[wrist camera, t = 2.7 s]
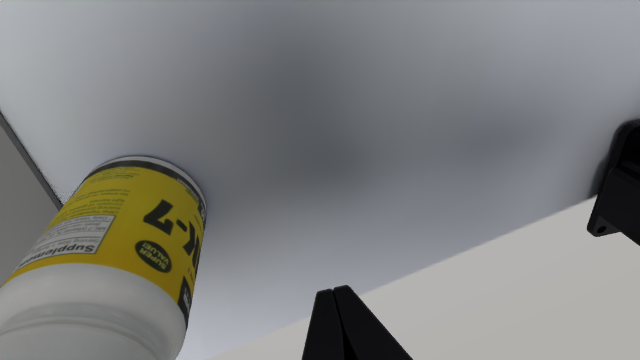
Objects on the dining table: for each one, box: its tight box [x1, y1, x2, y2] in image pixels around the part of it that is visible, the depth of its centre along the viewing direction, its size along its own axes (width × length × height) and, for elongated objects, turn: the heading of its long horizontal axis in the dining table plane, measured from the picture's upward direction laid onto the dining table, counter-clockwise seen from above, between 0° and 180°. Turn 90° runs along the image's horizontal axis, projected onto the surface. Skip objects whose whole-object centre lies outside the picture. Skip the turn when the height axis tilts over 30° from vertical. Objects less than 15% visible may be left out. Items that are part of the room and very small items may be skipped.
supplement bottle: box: [0, 156, 207, 360], centre depth 11 cm, size 5×5×8 cm
